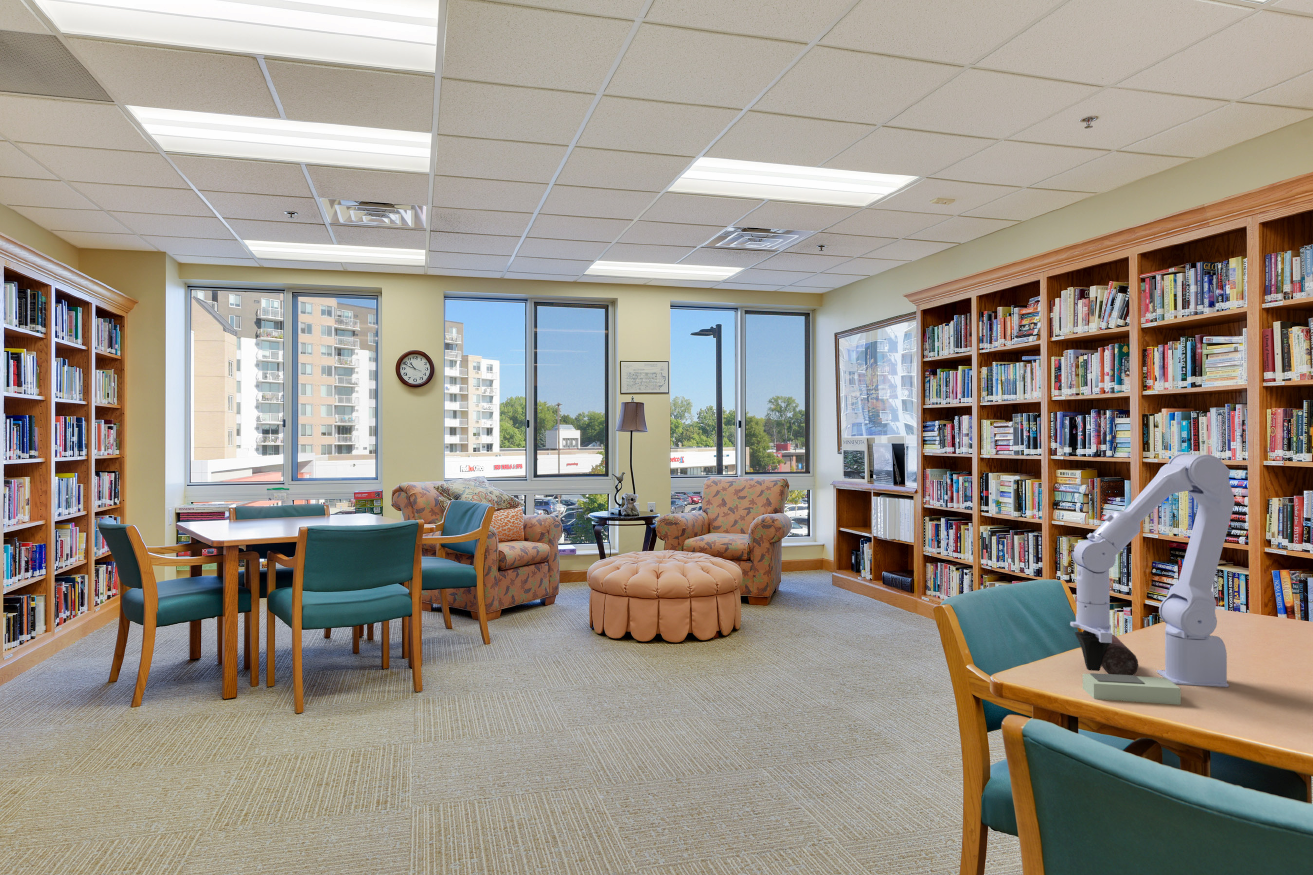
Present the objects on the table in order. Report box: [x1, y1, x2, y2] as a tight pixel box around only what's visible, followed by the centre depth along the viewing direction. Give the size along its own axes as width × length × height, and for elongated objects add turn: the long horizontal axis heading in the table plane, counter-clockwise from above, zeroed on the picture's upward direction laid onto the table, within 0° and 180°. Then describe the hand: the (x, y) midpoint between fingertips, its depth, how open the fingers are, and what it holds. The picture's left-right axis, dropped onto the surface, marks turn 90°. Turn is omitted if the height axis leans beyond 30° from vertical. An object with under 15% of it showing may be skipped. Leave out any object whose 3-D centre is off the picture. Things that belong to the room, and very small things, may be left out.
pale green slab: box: [1082, 672, 1182, 705], centre depth 142 cm, size 14×6×3 cm, turn 78°
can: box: [1101, 633, 1139, 675], centre depth 158 cm, size 6×6×14 cm
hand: (1093, 669), depth 155 cm, fingers closed
